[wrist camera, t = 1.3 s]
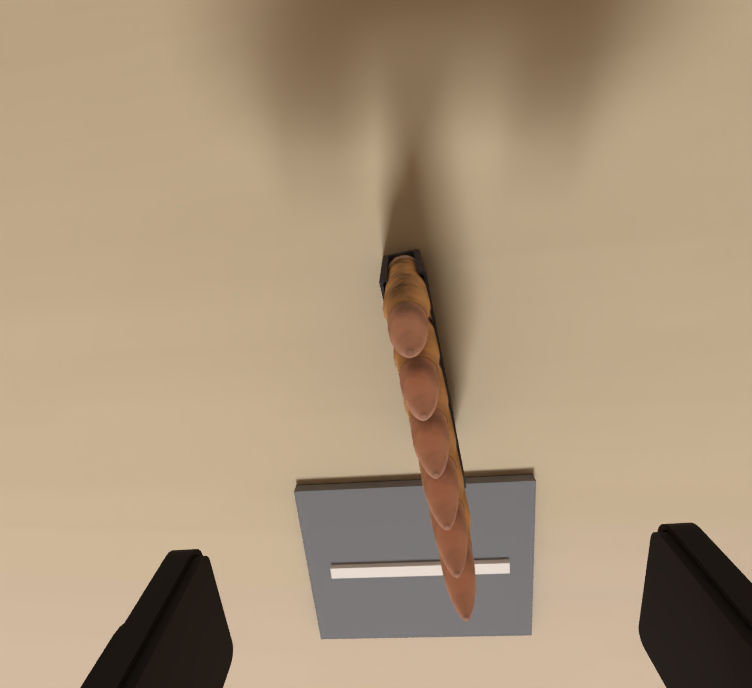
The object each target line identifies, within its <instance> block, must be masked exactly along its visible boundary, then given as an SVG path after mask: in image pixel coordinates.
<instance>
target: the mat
mask: <svg viewBox="0 0 752 688" xmlns="http://www.w3.org/2000/svg"><path fill="white" fill-rule="evenodd" d="M465 482H466V488H465V492H466V497H467V502H468V506H469V511H470V517H471V525H470V535H471V542H472V553H473V558H474V564H475V576H476V593H475V603H474V608H473V612H472V615H471V618H470V620H469V621H464V620H463V619H462V618H461V617H460V615H459V614H458V613H457V611H456V609H455V607H454V605H453V603H452V601H451V598H450V596H449V593H448V591H447V587H446V584H445V580H444V576H443V572H442V568H441V562H440V555H439V551H438V547H437V544H436V540H435V536H434V532H433V528H432V525H431V520H430V515H429V506H428V503H427V500H426V496H425V492H424V489H423V485H422V480H401V481H379V482H358V483H337V484H315V485H296V488H295V491H294V494H295V500H296V505H297V511H298V516H299V521H300V527H301V532H302V538H303V543H304V549H305V554H306V560H307V565H308V570H309V576H310V581H311V587H312V592H313V598H314V603H315V608H316V614H317V619H318V625H319V630H320V636H321V639H354V638H408V637H463V636H518V635H532V601H533V566H534V530H535V494H536V480H535V478H534V476H533V474H528V475H507V476H486V477H465Z"/></svg>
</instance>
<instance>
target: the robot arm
mask: <svg viewBox="0 0 752 688" xmlns="http://www.w3.org/2000/svg"><path fill="white" fill-rule="evenodd" d="M639 635H640V638H641V641H642V644H643V646H644V648H645V650H646V652H647V654H648V656H649V657H650V659H651V661H652V663H653V665H654V666H655V668H656V670H657V672H658V673H659V675H660V677H661V679H662V680H663V682H664V684H665V686H666V688H752V583H751V582H750V581H749V580H748V579H747V578H746V576H745V575H744V574H743V573H742V572H741V571H740V570H739V569H738V568H737V567H736V566H735V565H734V564H733V563H732V562H731V560H730V559H729V558H728V557H727V556H726V555H725V554H724V553H723V552H722V551H721V550H720V549H719V548H718V547H717V546H716V544H715V543H714V542H713V541H712V540H711V539H710V538H709V537H708V536H707V535H706V534H705V533H704V532H703V531H702V530H701V529H700V528H699V527H698V526H697V525H696V524H694V523H676V524H661V525H660V526H659V528H658V532H654V533H652V535H651V539H650V546H649V554H648V561H647V569H646V576H645V583H644V591H643V598H642V606H641V613H640V621H639ZM232 656H233V644H232V639H231V636H230V632H229V629H228V625H227V621H226V618H225V614H224V610H223V607H222V603H221V599H220V596H219V592H218V588H217V585H216V581H215V578H214V574H213V570H212V567H211V563H210V560H209V558H208V557H207V556H203V555H202V553H201V551H200V550H199V549H191V550H172V551H171V552H169V553H168V554H167V556H166V557H165V559H164V560H163V562H162V563H161V565H160V567H159V568H158V570H157V572H156V573H155V575H154V576H153V578H152V580H151V581H150V583H149V584H148V586H147V588H146V589H145V591H144V592H143V594H142V596H141V597H140V599H139V601H138V602H137V604H136V605H135V607H134V609H133V610H132V612H131V613H130V615H129V617H128V618H127V620H126V621H125V623H124V624H123V625H122V626H120V627H119V629H118V630H117V631H116V632H115V634H114V635H113V637H112V638H111V640H110V641H109V643H108V645H107V646H106V648H105V649H104V651H103V653H102V654H101V656H100V657H99V659H98V661H97V662H96V664H95V665H94V667H93V668H92V670H91V672H90V673H89V675H88V676H87V678H86V680H85V681H84V683H83V684H82V686H81V688H223V686H224V683H225V680H226V677H227V674H228V671H229V668H230V665H231V661H232Z"/></svg>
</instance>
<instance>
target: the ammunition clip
mask: <svg viewBox="0 0 752 688" xmlns="http://www.w3.org/2000/svg"><path fill="white" fill-rule="evenodd" d="M379 283H380V287H381V292H382V296H383V301H384V303H383V311H384V316H385V318H386V320H387V323H388V332H389V336H390V340H391V343H392V344H393V346H394V360H395V365H396V367H397V369H398V371H399V377H400V385H401V390H402V394H403V398H404V405H405V409H406V412H407V414H408V416H409V421H410V426H411V432H412V439H413V445H414V449H415V452H416V455H417V457H418V459H419V466H420V471H421V479H422V485H423V489H424V492H425V496H426V500H427V503H428V506H429V515H430V520H431V525H432V528H433V532H434V536H435V540H436V544H437V547H438V551H439V555H440V562H441V568H442V572H443V576H444V580H445V584H446V587H447V591H448V593H449V596H450V598H451V601H452V603H453V605H454V607H455V609H456V611H457V613H458V614H459V615H460V617H461V618H462V619H463V620H464V621H469V620H470V618H471V615H472V612H473V608H474V603H475V593H476V576H475V564H474V558H473V553H472V542H471V535H470V525H471V517H470V511H469V506H468V502H467V497H466V492H465V488H466V482H465V476H464V471H463V466H462V460H461V455H460V450H459V444H458V439H457V434H456V428H455V423H454V418H453V412H452V407H451V402H450V396H449V391H448V386H447V380H446V375H445V370H444V364H443V359H442V354H441V348H440V343H439V338H438V332H437V327H436V322H435V317H434V311H433V306H432V301H431V295H430V290H429V285H428V279H427V274H426V270H425V267H424V264H423V261H422V257H421V254H420V251H419V250H418V249H415V250H411V251H406V252H402V253H397V254H393V255H388V256H384V257H383V260H382V267H381V274H380V281H379Z"/></svg>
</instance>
